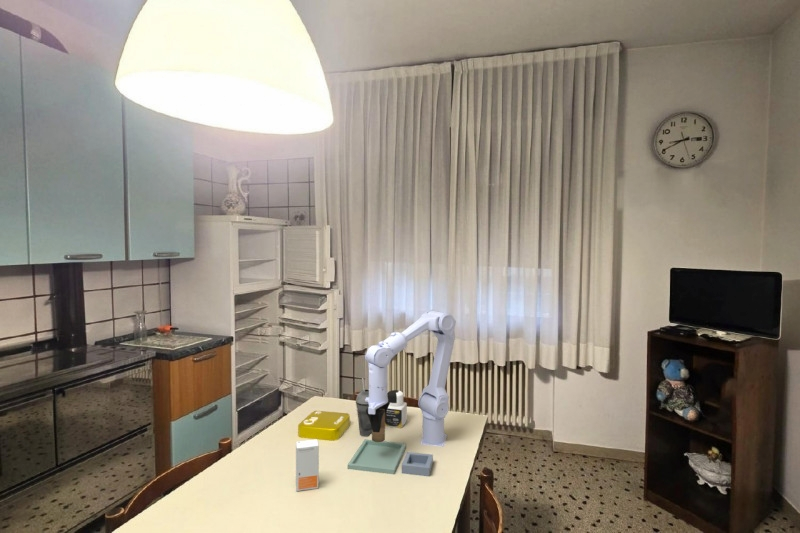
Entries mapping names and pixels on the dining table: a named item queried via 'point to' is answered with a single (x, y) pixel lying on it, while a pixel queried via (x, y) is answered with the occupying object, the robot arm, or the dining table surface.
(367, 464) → the tray
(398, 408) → the medicine bottle
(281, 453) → the dining table surface
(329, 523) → the dining table surface
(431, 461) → the grey square recessed block
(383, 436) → the dowel
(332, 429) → the element tile
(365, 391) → the beverage cup
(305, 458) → the skincare box
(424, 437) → the robot arm
